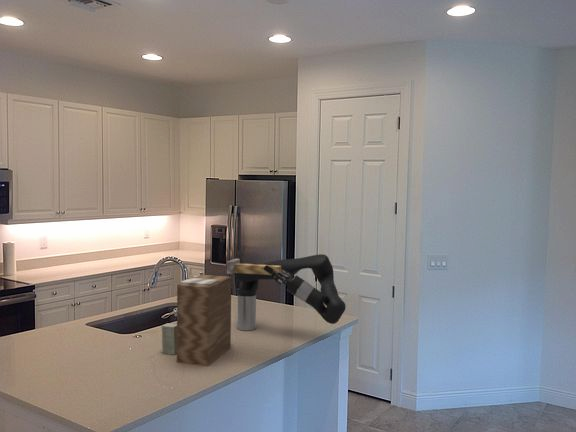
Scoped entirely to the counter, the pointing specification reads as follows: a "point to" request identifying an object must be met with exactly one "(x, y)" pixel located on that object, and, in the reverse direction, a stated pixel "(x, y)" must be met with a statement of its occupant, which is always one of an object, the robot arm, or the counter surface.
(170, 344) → the skincare box
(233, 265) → the wood block with plate
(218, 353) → the zigzag wood block
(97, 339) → the counter surface
